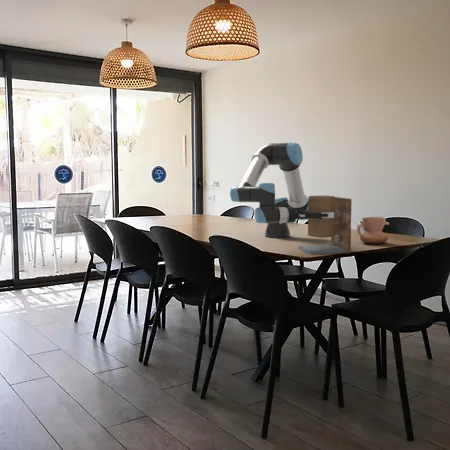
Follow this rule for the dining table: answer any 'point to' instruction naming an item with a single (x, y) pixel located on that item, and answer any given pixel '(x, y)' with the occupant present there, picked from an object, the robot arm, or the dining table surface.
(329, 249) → the plate
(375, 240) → the ceramic jug
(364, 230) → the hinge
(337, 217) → the cabinet side
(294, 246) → the dining table surface
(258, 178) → the robot arm
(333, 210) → the wooden block
